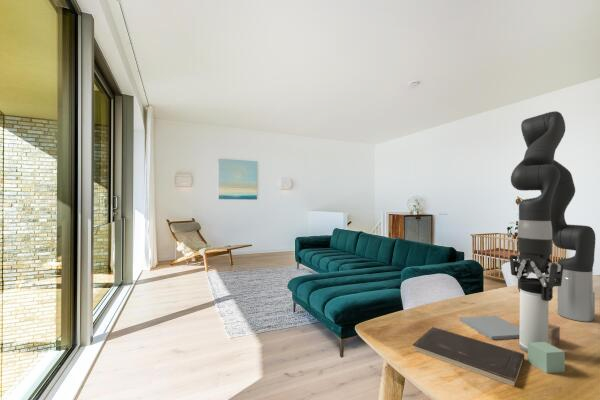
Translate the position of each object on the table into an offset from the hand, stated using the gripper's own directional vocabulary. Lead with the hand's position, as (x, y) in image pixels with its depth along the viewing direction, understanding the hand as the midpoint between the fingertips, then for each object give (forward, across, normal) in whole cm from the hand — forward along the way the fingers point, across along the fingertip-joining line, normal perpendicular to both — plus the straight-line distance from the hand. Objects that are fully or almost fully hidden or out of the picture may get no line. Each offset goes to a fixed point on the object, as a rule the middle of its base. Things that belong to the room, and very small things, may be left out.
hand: (534, 296), depth 81 cm
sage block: (+15, -7, +5) cm, 18 cm away
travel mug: (+15, 0, 0) cm, 15 cm away
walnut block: (+15, +4, -8) cm, 18 cm away
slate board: (+15, +14, 0) cm, 21 cm away
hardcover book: (+16, 0, +20) cm, 26 cm away
